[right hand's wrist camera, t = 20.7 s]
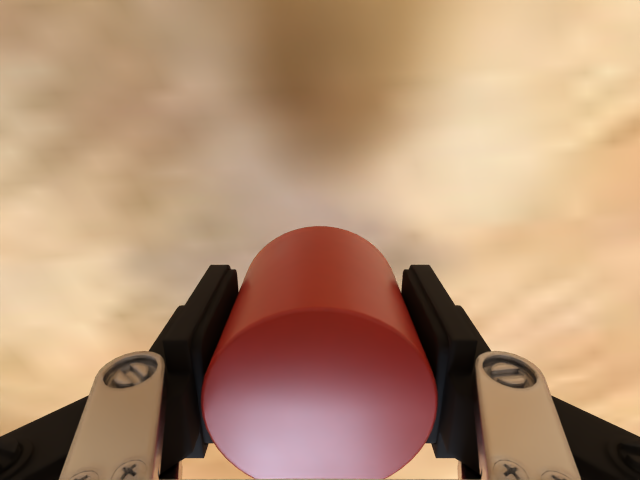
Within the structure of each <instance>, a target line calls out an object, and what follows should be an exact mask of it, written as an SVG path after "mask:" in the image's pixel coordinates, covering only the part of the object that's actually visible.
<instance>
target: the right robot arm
mask: <svg viewBox="0 0 640 480" xmlns="http://www.w3.org/2000/svg"><path fill="white" fill-rule="evenodd" d="M238 293H239V292H238V280H237V272H236V270H235V269H231V268H230V266H229V265H210V266H209V268H208V270H207V271H206V273H205V274H204V276H203V277H202V279H201V281H200V282H199V284H198V285H197V287H196V288H195V290H194V292H193V293H192V295H191V296H190V298H189V299H188V301H187V303H186V304H185V305H181V306H179V307H178V308H177V309H176V311H175V312H174V314H173V315H172V317H171V318H170V320H169V321H168V323H167V324H166V326H165V327H164V329H163V330H162V332H161V333H160V335H159V336H158V338H157V339H156V341H155V342H154V344H153V345H152V347H151V348H150V350H149V351H139V352H133V353H129V354H125V355H122V356H120V357H118V358H115V359H114V360H112V361H110V362H109V363H107V364H106V365H105V366H104V367H103V368H101V369H100V370H99V372H98V374H97V375H96V377H95V380H94V383H93V386H92V388H91V391H90V394H89V396H86V397H84V398H82V399H80V400H78V401H76V402H74V403H71V404H69V405H67V406H65V407H63V408H61V409H59V410H57V411H54V412H52V413H50V414H48V415H46V416H44V417H42V418H39V419H37V420H35V421H33V422H31V423H29V424H27V425H24V426H22V427H20V428H18V429H16V430H14V431H12V432H9V433H7V434H5V435H3V436H1V437H0V480H640V437H639V436H637V435H635V434H633V433H630V432H628V431H626V430H624V429H622V428H620V427H618V426H615V425H613V424H611V423H609V422H607V421H605V420H603V419H600V418H598V417H596V416H594V415H592V414H590V413H588V412H585V411H583V410H581V409H579V408H577V407H575V406H573V405H571V404H568V403H566V402H564V401H562V400H560V399H558V398H556V397H553V396H551V394H550V391H549V388H548V386H547V383H546V380H545V377H544V375H543V374H542V372H541V370H540V369H539V368H537V367H536V366H535V365H534V364H533V363H531V362H530V361H528V360H526V359H525V358H522V357H520V356H518V355H515V354H511V353H507V352H501V351H491V350H490V349H489V347H488V346H487V344H486V343H485V341H484V340H483V338H482V337H481V335H480V334H479V332H478V330H477V329H476V327H475V326H474V324H473V323H472V321H471V320H470V318H469V317H468V315H467V314H466V312H465V311H464V309H463V308H462V307H461V306H458V305H455V304H454V303H453V301H452V300H451V298H450V296H449V295H448V293H447V292H446V290H445V289H444V287H443V285H442V284H441V282H440V281H439V279H438V278H437V276H436V275H435V273H434V271H433V270H432V268H431V267H430V265H411V266H410V268H409V269H405V270H404V271H403V279H402V291H401V294H402V297H403V299H404V302H405V304H406V307H407V309H408V312H409V314H410V317H411V319H412V322H413V324H414V326H415V329H416V331H417V334H418V336H419V339H420V341H421V344H422V346H423V349H424V351H425V354H426V356H427V359H428V361H429V364H430V366H431V369H432V372H433V374H434V377H435V380H436V385H437V391H438V408H437V414H436V420H435V423H434V426H433V429H432V431H431V433H430V435H429V437H428V439H427V441H426V443H431V444H432V447H433V450H434V453H435V457H436V458H456V459H457V460H459V461H458V479H182V461H181V460H183V459H184V458H204V456H205V453H206V450H207V447H208V444H209V443H214V442H213V441H212V439H211V437H210V435H209V433H208V431H207V429H206V426H205V423H204V419H203V415H202V408H201V389H202V384H203V380H204V376H205V373H206V371H207V369H208V366H209V364H210V361H211V359H212V356H213V354H214V351H215V349H216V347H217V344H218V342H219V339H220V337H221V334H222V332H223V330H224V327H225V325H226V322H227V320H228V317H229V315H230V313H231V310H232V308H233V305H234V303H235V300H236V298H237V296H238Z"/></svg>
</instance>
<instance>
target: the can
mask: <svg viewBox="0 0 640 480" xmlns="http://www.w3.org/2000/svg"><path fill="white" fill-rule="evenodd" d="M201 408H202V415H203V419H204V423H205V426H206V429H207V431H208V433H209V435H210V437H211V439H212V441H213V442H214V444H215V445H216V447H217V448H218V450H219V451H220V452H221V453H222V454H223V455H224V457H225V458H226V459H227V460H229V461H230V462H231V463H232V464H233V465H234V466H235V467H237V468H238V469H239V470H241V471H242V472H244V473H245V474H247V475H249V476H250V477H252V478H254V479H385V478H387V477H389V476H391V475H392V474H394V473H395V472H397V471H398V470H400V469H401V468H403V467H404V466H405V465H406V464H407V463H409V462H410V461H411V460H412V459H413V458H414V457H415V455H416V454H417V453H418V452H419V451H420V450H421V448H422V447H423V445H424V444H425V443H426V441H427V439H428V437H429V435H430V433H431V431H432V429H433V426H434V423H435V420H436V414H437V408H438V391H437V385H436V380H435V377H434V374H433V372H432V369H431V366H430V364H429V361H428V359H427V356H426V354H425V351H424V349H423V346H422V344H421V341H420V339H419V336H418V334H417V331H416V329H415V326H414V324H413V322H412V319H411V317H410V314H409V312H408V309H407V307H406V304H405V302H404V299H403V297H402V294H401V292H400V289H399V287H398V284H397V282H396V279H395V277H394V274H393V272H392V269H391V267H390V266H389V264H388V262H387V260H386V259H385V258H384V256H383V255H382V254H381V252H380V251H379V250H378V249H377V248H376V247H375V246H373V245H372V244H371V243H370V242H368V241H367V240H365V239H364V238H362V237H360V236H358V235H357V234H354V233H352V232H349V231H347V230H343V229H339V228H334V227H327V226H314V227H305V228H301V229H296V230H293V231H290V232H288V233H285V234H283V235H281V236H279V237H278V238H276V239H274V240H273V241H271V242H270V243H269V244H267V245H266V246H265V247H264V248H263V249H262V250H261V251H260V252H259V253H258V255H257V256H256V257H255V258H254V260H253V261H252V263H251V265H250V267H249V269H248V271H247V274H246V276H245V279H244V281H243V283H242V286H241V288H240V291H239V293H238V296H237V298H236V300H235V303H234V305H233V308H232V310H231V313H230V315H229V317H228V320H227V322H226V325H225V327H224V330H223V332H222V334H221V337H220V339H219V342H218V344H217V347H216V349H215V351H214V354H213V356H212V359H211V361H210V364H209V366H208V369H207V371H206V373H205V376H204V380H203V384H202V389H201Z"/></svg>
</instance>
